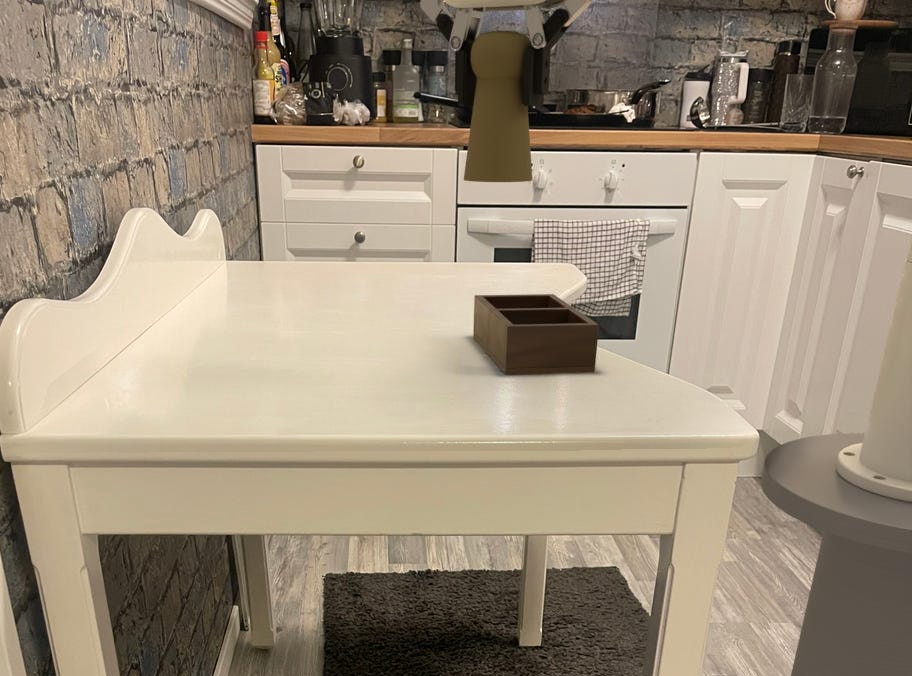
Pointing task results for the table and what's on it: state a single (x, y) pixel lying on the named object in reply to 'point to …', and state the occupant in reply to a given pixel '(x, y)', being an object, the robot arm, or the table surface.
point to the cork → (499, 111)
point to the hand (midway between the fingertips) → (500, 103)
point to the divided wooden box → (535, 334)
